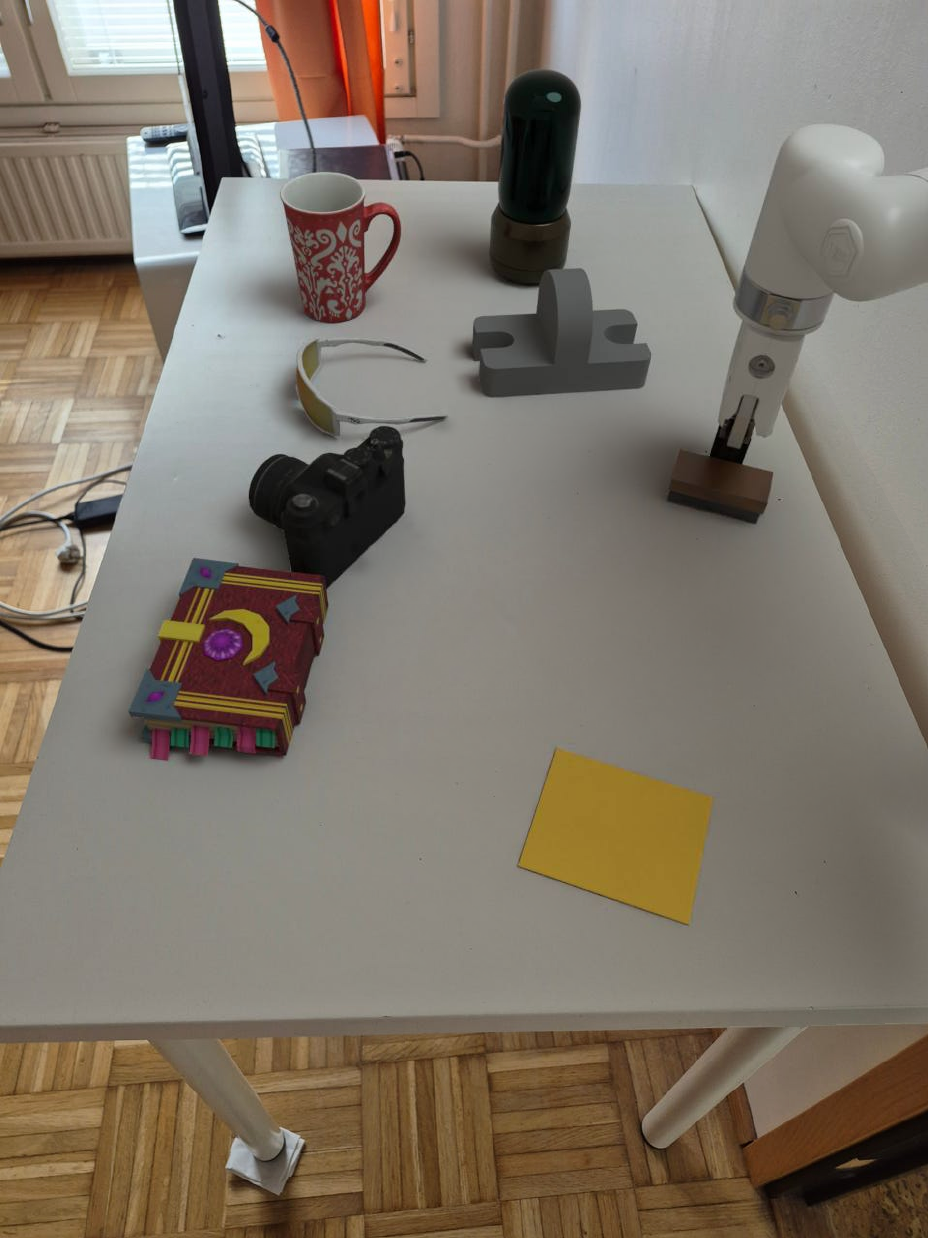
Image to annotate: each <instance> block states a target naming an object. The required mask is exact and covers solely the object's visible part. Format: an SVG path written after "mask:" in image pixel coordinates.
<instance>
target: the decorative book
mask: <svg viewBox="0 0 928 1238" xmlns="http://www.w3.org/2000/svg"><path fill="white" fill-rule="evenodd" d="M327 590H328V589H327ZM327 590H326V583H325V576H323V575H314V574H305V573H296V572H291V571H287V570H278V569H269V568H261V567H252V566H251V567H250V566H242V565H239V563H238V562H231V561H223V560H215V559H207V558H198V557H193V558H192V559H191V562H190V565H189V567H188V569H187V572H186V574H185V577H184V579H183V581H182V583H181V586H180V589H179V591H178V596H179V598H178V600H177V603H176V605H175V607H174V609H173V612H172V614H171V617H170V619H169V620H168V619H164V620H163V622H162V624H161V627H160V629H159V632H158V634H157V639H158V641H159V645H158V648H157V650H156V653H155V655H154V657H153V659H152V661H151V664H150V667H149V668H148V667H146V669H145V671H144V674H143V676H142V678H141V681H140V683H139V685H138V687H137V689H136V691H135V694H134V696H133V699H132V701H131V704H130V705H129V708H128V710H127V713H128V714H129V716H130V717H131V718H139V719H143V720H144V722H145V723H144V726H143V728H142V731H141V733H140V735H139V737H140V739H141V741H142V742H148V743H151V748H150V749H151V751H150V759H155V760H161V761H169V756H170V755H169V754H170V746H171V747H179V748H186V749H187V748H188V749H189V755H195V756H204V757H208V754H209V747H213V748H220V749H227V750H228V749H229V750H236V751H237V752H239V753H240V752H241V753H246V754H253V755H254V754H256V753H262V754H270V755H276V756H283V757H286V756H287V755H288V751H289V747H290V744H291V739H292V737H293V734H294V730H295V726H296V724H297V725H300V724H301V722H302V719H303V715H304V711H305V707H306V704H307V699H306V694H305V692H306V691H305V690H306V687H307V685H308V684H307V683H308V681H309V680H308V679H309V676H310V672H311V670H312V666H313V662H314V659H315V656H320V653H321V650H322V646H323V643H324V639H325V629H324V623H325V620H326V617H327V613H328V609H329V598H328V591H327Z"/></svg>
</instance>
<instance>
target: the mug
mask: <svg viewBox="0 0 928 1238" xmlns="http://www.w3.org/2000/svg"><path fill="white" fill-rule="evenodd" d="M366 195H367V191H366V188H365V186H364V185H363V184H362V182H361V181H360V180H358V179H357V178H355V177H353V176H351V175H348V174H345V173H340V172H333V171H319V172H310V173H306V174H302V175H298V176H296V177H293V178H292V179H290V180H289V181H287V182H285V184H284V185H282V187H281V189H280V191H279V199H280V200H281V202H282V204H283V209H284V214H285V220H286V226H287V230H288V235H289V241H290V245H291V250H292V255H293V262H294V266H295V271H296V276H297V282H298V286H299V292H300V298H301V303H302V308H303V311H304V313H305V314H306V315H307V316H309V317H310V318H311V319H313V320H316V321H318V322H323V323H329V324H330V323H331V324H332V323H333V324H335V323H343V322H346V321H350V320H352V319H354V318H357V317H358V316H359V315H360V314H361V313H363V311H364V310H365V307H366V293H367V292H368V291H369V290H370V288H371V287H372V286H373V285H374V284H375V283H376V281H377V280H379V278H380V277H381V275H383V273H384V272H385V270H387V268H388V267H389V265H390V263H391V262H392V260H393V259H394V256H395V255H396V253H397V251H398V248H399V246H400V242H401V237H402V223H401V219H400V216H399V213H398V212H397V210H396V209H395V207H394V206H392V205H391V204H389V203H387V202H374V203H371V204H369V205H366V206H365V199H366ZM380 215H385V216H388V217H389V218H390V219H391V221H392V224H393V225H392V226H393V233H392V237H391V240H390V243H389V245H388V246H387V247H386V250H385V252H384V253H383V255H382V256H381V257H380V259H379V260H378V262H377V263H376V265H374V267H373V268H372V269H371V270H370V271H369V272H365V271H366V269H365V267H366V266H365V265H366V263H365V261H366V260H365V257H366V255H365V234H366V232H368V230H369V228H370V225H371V222H372V221H373V220H374V219H375V218H376V217H377V216H380Z"/></svg>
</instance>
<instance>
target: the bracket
mask: <svg viewBox="0 0 928 1238" xmlns="http://www.w3.org/2000/svg"><path fill="white" fill-rule="evenodd" d="M472 322H473V324H472V343H471V344H472V345H471V352H472V356H473V360H474V362H478V361H479V365H478V380H479V384H480V388H481V392H482V394H483V395H484V396H486V397H488V398H505V397H506V398H507V397H508V398H509V397H524V396H525V397H526V396H537V395H538V396H539V395H541V396H542V395H556V394H571V393H572V394H573V393H587V392H604V391H623V390H634V389H635V390H638V389H642V388H643V387H644V386H645V385H646V382H647V376H648V371H649V368H650V363H651V358H652V352H651V350H650V347H649V345H648V343H647V342H641V343H640V342H638V343H635V338H636V333H637V329H638V324H639V323H638V321H637V319H636V317H635V315H634V313H633V312H632V311H630V310H629V309H626V308H625V309H624V308H616V309H597V310H594V305H593V294H592V289H591V284H590V280H589V277H588V273H587V272H586V270H585V269H583V268H582V267H579V268H578V267H577V268H563V269H554V270H546V271H544V273H543V275H542V278H541V282H540V283H539V288H538V294H537V304H536V312H534V313H518V314H517V313H516V314H499V315H480V316H477V317H475V318H474V320H473V321H472Z"/></svg>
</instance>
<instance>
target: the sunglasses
mask: <svg viewBox="0 0 928 1238" xmlns="http://www.w3.org/2000/svg"><path fill="white" fill-rule="evenodd" d="M346 344H361V345H367V346H371V347H385V348H390V349H392V350H395V351H398V352H402V353H403V354H405V355H408V356H410V357H412V358H414V359H415V360H418V361H420V362H421V363H425V362H427V361H428V358H427V357H425V356H423V355H422V354H420V353H418V352H416V351H414V350H413V349H411V348H408V347H406V346H404V345H402V344H399V343H397V342H393V341H389V340H386V339H377V338H375V339H374V338H365V337H347V336H337V337H335V336H334V337H320V338H319V337H313V336H312V337H311V338H309V339H308V340H306V341H305V342H302V344H301V345H300V347H299V349H298V350H297V353H296V383H295V391H296V394H297V397H298V400H299V403H300V405H301V407H302V409H303V412H304V414H305V415H306V416H307V419H308V420H309V422H310V423H312V424H313V426H314V427H315V428H317V429H318V430H319V431H321V432H323V434H326V435H328V436H331V437H334V438H336V437H340V436H341V423H340V422H342V423H343V422H344V423H349V424H352V425H364V424H385V425H386V424H387V425H397V426H400V425H405V424H411V423H423V422H424V423H425V422H435V421H436V422H437V421H444V420H445V419H447V418H448V417H449V416H450V415H449V413H443V414H429V415H428V414H427V415H409V416H405V417H394V418H393V417H375V416H368V415H361V414H357V413H352V412H346V411H342V410H339V409H338V407H336V406H335V405H333V404H332V403H331V402H329V401H328V400H327V399H325V398H324V397H323V396H322V395H321V393H320V392H319V390H318V388H316V387H315V386H314V384H313V381H314V380H315V378H316V377H317V376H318V374H319V372H320V371H321V370H322V368H323V359H322V358H323V357H322V352H321V351H322V349H321V348H327V347H328V348H332V347H333V348H336V347H339V346H341V345H346Z"/></svg>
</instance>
